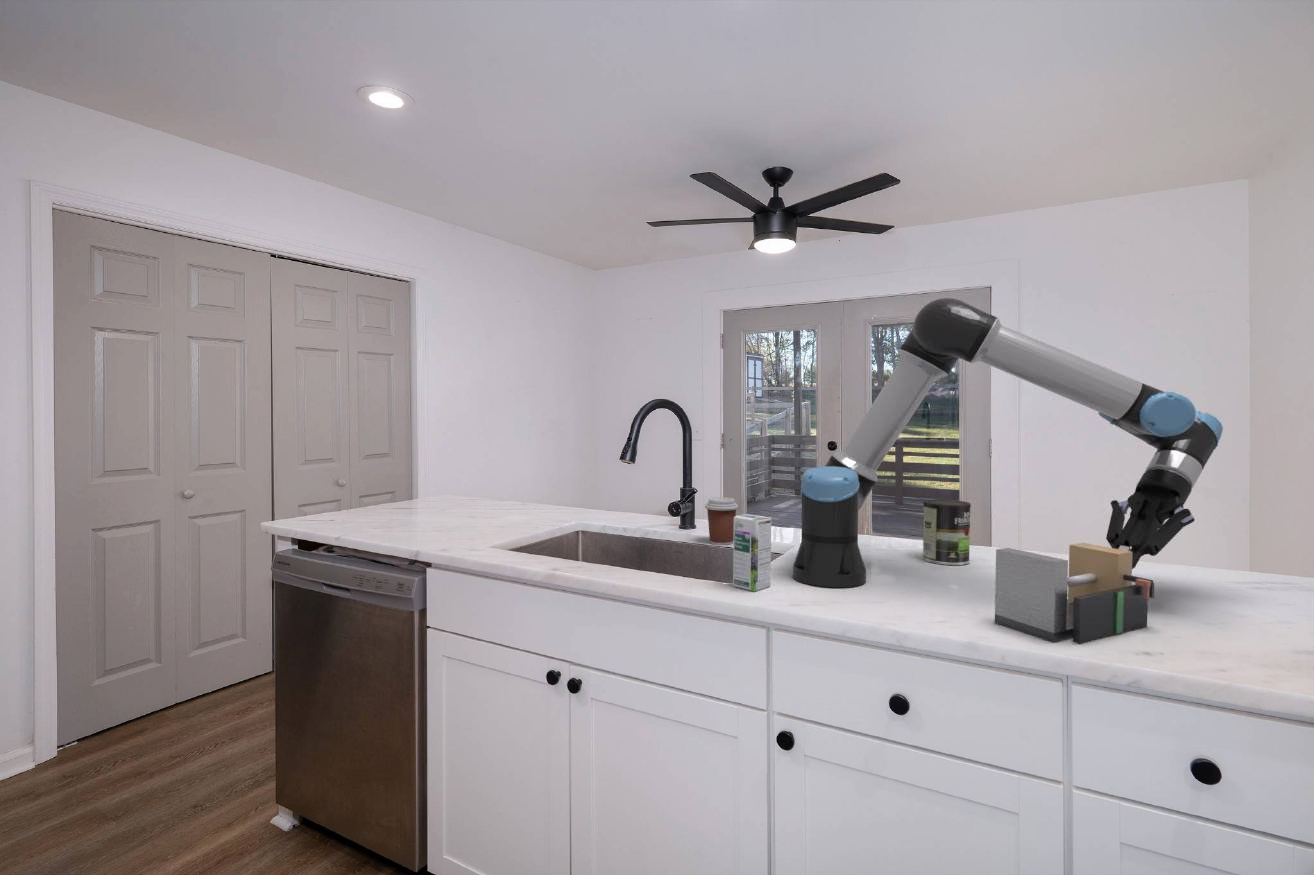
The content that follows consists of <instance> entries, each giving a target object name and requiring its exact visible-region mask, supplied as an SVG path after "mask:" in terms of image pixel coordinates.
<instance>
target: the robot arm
mask: <svg viewBox="0 0 1314 875" xmlns="http://www.w3.org/2000/svg"><path fill="white" fill-rule="evenodd" d="M898 353H899V354H898V355H899V360H900V361H899V362H898V364H897V365H896V367H895V368H894V370H893V371H892V373H891V374H890V376H889V377H888V379H887V381H886V383H884V386H883V387H882V389H881V390H880V392H878V395H877V397H875V400H874V401H873V403H872V404H871V406H870V408H869V409H868V410H867V412H866V414H865V415H864V417H863V418H862V420H861V421H860V422H859V424H858V426H857V427H856V429H855V431H854V432H853V434H852V435H851V437H850V439H849V441H848V442H847V443H846V445H845V447H844V449H842V450H841V451H837V452H833V453H832V454H831V456H830V458H829V459H828V461H827V462H826V464H824V466H818V467H812V468H809V469H807V470H805V471H804V472H803V473H802V476H801V478H802V479H801V484H800V488H801V541H800V545H799V547H798V550H797V553H796V556H795V558H794V562H793V565H792V578H793V579H794V580H796V581H798V582H800V583H803V584H807V585H810V586H817V587H825V588H853V587H859V586H862V585H864V584H865V583H867V569H866V566H865V561H864V560H863V556H862V552H861V550H860V547H859V536H858V535H859V511H860V509H861V508H862V507H863V505H864V503H865V501H866V499H867V497H868V496H869V495H870V493H871V492H872V490H873V489H874V487H875V486H876V485H877V484H876V483H877V482H878V481H879V479H878V476H877V470H878V469H879V467H880V466H881V464H882V462H883V461H884V459H885V457H886V456H887V455H888V454H889V452H890V450H891V449H892V447H893V446H894V444H895V443H896V442H897V440H898V438H899V437H900V435H901V433H902V432H903V431H904V429H905V428H906V426H907V424H908V423H909V421H910V420H911V418H912V417H913V415H914V414H915V412H916V411H917V409H918V408H919V406H920V405H921V403H922V402H923V400H924V398H925V397H926V396H927V394H928V392H929V391H930V389H931V388H932V386H933V385H934V384H935V382H936V380H939V379H941V378H945V377H948V375H949V374H950V372H951V371H952V369H953V368H954V366H956V364H957V362H958V360H959V359H960V360H963V361H964V362H968V363H970V364H974V363H975V364H976V363H978V362H980V363H983V364H986V365H988V366H991V367H993V368H996V369H998V370H1000V371H1002V372H1005V373H1007V374H1009V375H1011V376H1013V377H1014V376H1015V377H1016V378H1019V379H1021V380H1023V381H1025V382H1028V383H1030V384H1033V385H1035V386H1038V387H1039V388H1042V389H1044V390H1047V391H1049V392H1051V393H1054V394H1056V395H1058V396H1060V397H1063V398H1065V399H1068V400H1070V401H1073V402H1074V403H1077V404H1079V405H1081V406H1084V407H1086V408H1089V409H1091V410H1092V411H1093V410H1094V411H1096V412H1097V413H1098V415H1099V416H1100V418H1102V419H1105V420H1106V421H1108V422H1109V423H1110V425H1113V426H1116V427H1117V428H1119V429H1121V430H1122V431H1125V433H1126V432H1127V433H1128V434H1130V435H1132V436H1133V437H1136V438H1137V439H1139V440H1141V441H1143V442H1145V443H1146V444H1147V445H1149V446H1151V447H1153V448H1155V449H1156V452H1155V453H1154V455H1153V456H1152V458H1151V460H1150V462H1149V464H1148V465H1147V467H1146V469H1145V471H1144V473H1143V474H1142V476H1141V477H1140V479H1139V480H1138V482H1137V484H1136V487H1135V490H1134V493H1133V494H1131V495H1130V496H1128V498H1127V499H1126V500H1124V501H1118V500H1116V499H1113V500H1112V501H1110V506H1111V515H1110V518H1109V524H1108V529H1107V532H1106V537H1105V539H1106V541H1107V543H1108V544H1109V546H1110V548H1114V549H1120V550H1125V551H1131V552H1132V570H1134V569H1135V568H1136V566H1137V565H1138V563H1139V561H1140V559H1141V558H1142V557H1143V556H1145V555H1149V556H1153V557H1155V556H1157V555H1158V554H1159V553H1160V552H1161V551H1162V550H1163V549H1164V548H1165V547H1166V546H1167V545H1168V544H1169V543H1170V541H1172V540H1173V539H1174V538H1175V537H1176V536H1177V534H1179V533H1180V531H1181V530H1182V529H1184V528H1185V527H1186V526H1189V525H1191V524H1192V523H1194V522H1195V517H1194V516H1193V513H1192V512H1191V510H1190V509H1189V508H1184V505H1185V503H1186V502H1187V500H1188V498H1189V496H1190V495H1191V492H1192V489H1193V488H1194V487H1195V485H1196V483H1197V481H1198V479H1199V478H1200V476H1201V474H1202V472H1203V470H1204V468H1205V466H1206V464H1207V463H1208V461H1209V459H1210V458H1211V456H1212V455H1213V453H1214V451H1215V450H1216V449H1217V447H1218V446H1219V443H1220V439H1221V437H1222V433H1223V429H1224V428H1223V427H1224V426H1223V425H1222V423H1221V421H1220V420H1219V419H1218V418H1217V417H1216V416H1214V415H1212V414H1211V413H1208V412H1201V411H1199V410H1196V408H1195V405H1194V403H1193V402H1192V401H1191V400H1190V399H1189V398H1188V397H1187V396H1185V395H1182V394H1180V393H1176V392H1173V391H1163V390H1161V389H1158V388H1156V387H1154V386H1151V385H1149V384H1146V383H1143V382H1141V381H1138V380H1136V379H1134V378H1132V377H1129V376H1126V375H1124V374H1121V373H1119V372H1117V371H1115V370H1112V369H1109V368H1107V367H1105V366H1103V365H1100V364H1097V363H1095V362H1092V361H1089V360H1087V359H1085V358H1082V357H1079V356H1078V355H1075V354H1072V353H1071V352H1068V351H1065V350H1064V349H1061V348H1058V347H1056V346H1053V345H1051V344H1049V343H1046V342H1044V341H1041V340H1038V339H1037V338H1033V337H1031V336H1029V335H1026V334H1024V333H1021V332H1019V331H1017V330H1014V329H1011V328H1009V327H1006V326H1004V325H1002V324H1001V322H1000V318H999V317H997V316H995V315H992V314H990V313H988V312H985V311H983V310H981V309H979V308H977V307H975V306H973V305H970V304H969V303H966V302H965V301H963V300H960V299H957V298H953V297H952V298H951V297H944V298H943V297H942V298H938V299H935V300H932V301H930V302H929V303H927V304H925V305H924V306H923V307H922V308H921V309H920V310H919V311H918V313H917V314H916V316H915V319H914V322H913V327H912V329H911V330H910V332H909V333H908V335H907V337H906V338H905V339H904V341H903V342H902V343H901V346H900V348H899V349H898ZM1128 509H1130V510H1131V511H1129V512H1130V513H1129V517H1128V520H1127V521H1126V520H1125V519H1126V517H1125V516H1126V514H1128ZM1125 521H1126V523H1125ZM1124 523H1125V525H1124Z"/></svg>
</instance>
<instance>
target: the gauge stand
mask: <svg viewBox="0 0 1314 875" xmlns="http://www.w3.org/2000/svg"><path fill="white" fill-rule="evenodd" d="M1068 577H1069V560H1067V559H1064V558H1058V557H1053V556H1050V555H1045V554H1040V553H1039V554H1038V553H1034V552H1029V551H1024V550H1020V549H1016V548H1011V547H1006V548H1005V547H1004V548H996V550H995V581H994V582H995V583H994V584H995V587H994V588H995V589H994V592H995V593H994V624H997V623H998V624H997V625H999V626H1003V627H1006V628H1009V629H1012V630H1015V631H1018V632H1022V633H1023V632H1024V634H1026V635H1029V636H1033V637H1036V638H1039V639H1041V638H1042V639H1041V640H1045V641H1048V642H1050V641H1051V643H1053V644H1054V643H1058V641H1059V642H1063V641H1066V640H1067V641H1068V640H1070V638H1071V639H1072V643H1075V644H1078V645H1081V644H1084V643H1089V642H1093V641H1096V640H1100V639H1104V638H1108V637H1113V636H1117V635H1120V634H1124V633H1128V632H1132V631H1136V630H1140V629H1144V628H1148V610H1149V608H1148V607H1149V606H1148V604H1149V602H1148V601H1149V599H1146V598H1144V586H1141V585H1136V584H1132V585H1131V586H1126V587H1121V588H1116V589H1111V590H1107V591H1102V592H1097V593H1092V594H1087V595H1082V596H1077V597H1074V602H1073V601H1069V600H1068V585H1067V583H1068ZM1062 640H1063V641H1062ZM1092 640H1093V641H1092ZM1088 641H1089V642H1088Z"/></svg>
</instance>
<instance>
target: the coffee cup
mask: <svg viewBox="0 0 1314 875" xmlns="http://www.w3.org/2000/svg"><path fill="white" fill-rule="evenodd" d="M739 508H740V507H739V505H738V504H737V502H736V500H735V499H734V498H733V497H732V498H731V497H727V496H726V497H723V496H722V497H721V496H720V497H718V496H717V497H710V498H709V499H708V502H707V503H706V504H704V509H706V511H707V522H708V534H709V544H711V545H716V546H729V545H730V546H731V545H734V517H735V516H737V510H739Z"/></svg>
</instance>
